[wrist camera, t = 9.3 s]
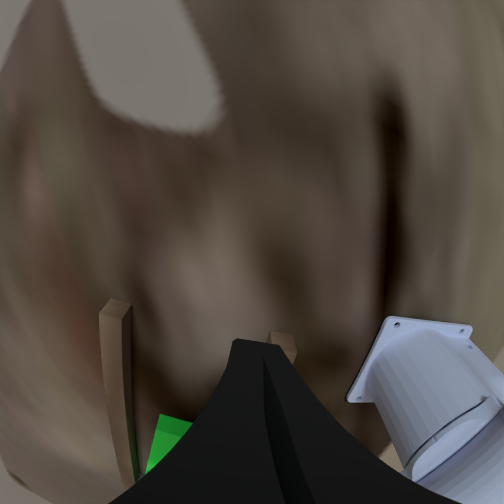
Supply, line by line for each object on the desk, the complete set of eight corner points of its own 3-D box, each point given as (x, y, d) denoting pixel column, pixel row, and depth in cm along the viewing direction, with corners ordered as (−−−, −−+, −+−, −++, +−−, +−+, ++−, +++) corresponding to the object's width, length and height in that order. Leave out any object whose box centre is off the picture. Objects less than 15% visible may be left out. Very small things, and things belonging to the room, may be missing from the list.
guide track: (292, 334, 19) (299, 363, 16) (228, 495, 27) (228, 515, 24) (110, 298, 18) (92, 322, 15) (127, 476, 26) (122, 496, 23)
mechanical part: (198, 483, 26) (193, 541, 19) (145, 470, 25) (133, 527, 18) (229, 429, 23) (227, 509, 15) (160, 412, 22) (141, 490, 14)
